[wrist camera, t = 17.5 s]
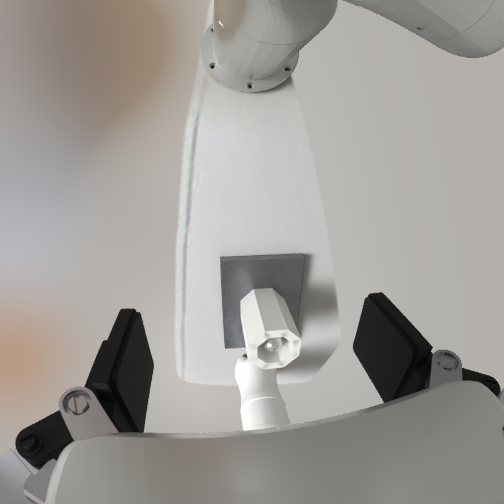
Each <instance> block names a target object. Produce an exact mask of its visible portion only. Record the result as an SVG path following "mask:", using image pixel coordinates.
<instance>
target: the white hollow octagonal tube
mask: <svg viewBox="0 0 504 504" xmlns="http://www.w3.org/2000/svg"><path fill="white" fill-rule="evenodd" d="M240 307H241V322H242V328H243V334H244V339H245V345H246V351H247V356H248V361H250V362H251V363H253V364H255V365H256V366H258V367H260V368H261V369H263V370H264V369H273V368H282V367H285V366H286V365H287V364H289V363H290V362H291V361H293V360H294V359H295V358H297V357H298V356H299V354H300V347H301V341H302V339H301V337H300V335H299V332H298V330H297V328H296V325H295V323H294V321H293V318H292V316H291V314H290V311H289V309H288V307H287V304H286V302H285V300H284V298H283V297H282V296H281V295H280V294H278V293H277V292H276V291H275V290H274V289H273V288H263V289H253V290H252V291H251V292H250V293H249V294H247V295H246V296H245V297H244V298H243V299H242V300H241V301H240ZM276 337H281V340H282V346H281V348H280V349H279V350H278V351H277V352H268V351H267V350H266V349H265V348H264V345H263V342H264V341H266V340H267V339H268V338H276Z"/></svg>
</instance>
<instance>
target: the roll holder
mask: <svg viewBox="0 0 504 504" xmlns="http://www.w3.org/2000/svg"><path fill="white" fill-rule="evenodd" d="M220 266H221V289H222V308H223V326H224V342H225V349H226V348H242V347H246V345H245V339H244V334H243V328H242V322H241V307H240V301H241V300H242V299H243V298H244V297H245V296H246V295H247V294H249V293H250V292H251V291H252V290H253V289H263V288H273V289H274V290H275V291H276V292H277V293H278V294H280V295H281V296H282V297H283V298H284V300H285V302H286V304H287V307H288V309H289V311H290V314H291V316H292V318H293V321H294V323H295V325H296V328H297V324H298V316H299V307H300V298H301V289H302V279H303V269H304V256H303V255H302V254H281V255H258V256H235V257H220ZM263 345H264V348H265V349H266V350H267V351H268V352H277V351H278V350H279V349H280V348H281V346H282V340H281V337H276V338H268V339H267V340H266V341H264V342H263Z"/></svg>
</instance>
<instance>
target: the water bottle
mask: <svg viewBox="0 0 504 504" xmlns="http://www.w3.org/2000/svg"><path fill="white" fill-rule="evenodd" d="M235 377H236V381H237V383H238V386H239V389H240V393H241V400H242V401H241V411H240V412H241V417H242V424H243V431H245V430H255V429H264V428H272V427H280V426H286V425H291V424H290V421H289V418H288V414H287V410H286V407H285V403H284V401H283V399H282V397H281V395H280V392H279V389H278V385H277V380H276V368H273V369H264V370H263V369H261V368H260V367H258V366H256V365H255V364H253V363H251V362H250V361H248V357H247V359H246V358H245V357H244V356H241V357H240V358H239V359H238V361H237V363H236V366H235Z"/></svg>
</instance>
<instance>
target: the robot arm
mask: <svg viewBox="0 0 504 504" xmlns="http://www.w3.org/2000/svg"><path fill="white" fill-rule="evenodd" d="M343 1H346V2H349V3H351V4H354V5H356V6H361V7H363V8H365V9H368V10H370V11H372V12H374V13H377V14H379V15H381V16H383V17H385V18H387V19H389V20H391V21H393V22H395V23H397V24H399V25H400V26H402V27H404V28H406V29H408V30H409V31H411V32H413V33H415V34H416V35H419V36H420V37H422V38H424V39H425V40H427V41H429V42H431V43H432V44H434V45H436V46H437V47H439V48H441V49H443V50H445V51H447V52H449V53H452V54H455V55H458V56H462V57H467V58H478V57H484V56H488V55H491V54H493V53H495V52H497V51H499V50H500V49H502V48H503V47H504V0H343ZM337 2H338V0H214V19H213V23H212V24H211V25H210V26H209V28H208V29H207V31H206V32H205V34H204V37H203V39H202V44H201V56H202V61H203V63H204V66H205V68H206V70H207V71H208V72H209V74H210V75H211V76H212V77H213V78H214V79H215V80H216V81H217V82H219V83H221V84H222V85H224V86H225V87H228V88H230V89H233V90H237V91H241V92H262V91H265V90H269V89H272V88H274V87H276V86H278V85H279V84H281V83H282V82H284V81H285V80H286V79H287V78H288V77H289V76H290V75H291V74H292V72H293V71H294V69H295V67H296V64H297V61H298V57H299V50H300V49H302V48H303V47H304V46H305V45H306V44H307V43H308V42H309V41H310V40H311V39H313V37H315V36H316V35H317V34H318V33H319V32H320V31H321V30H322V29H324V28H325V27H326V26H327V24H328V23H329V22H330V21H331V19H332V18H333V16H334V14H335V12H336V8H337ZM212 31H213V32H212ZM211 66H214V69H211V68H210V67H211ZM285 69H288V71H285ZM248 85H251V86H252V88H248ZM432 348H433V347H432V346H431V345H430V343H429V342H428V341H427V340H426V339H425V338H424V337H423V336H422V334H421V333H420V332H419V331H418V330H417V329H416V328H415V327H414V326H413V325H412V323H411V322H410V321H409V320H408V319H407V318H406V317H405V316H404V315H403V314H402V313H401V312H400V311H399V309H397V307H396V306H395V305H394V304H393V303H392V302H391V301H390V300H389V299H388V298H387V297H386V296H385V295H384V294H383V293H382V292H380V293H371V294H369V295H368V297H367V298H365V301H364V305H363V309H362V313H361V317H360V321H359V325H358V328H357V332H356V336H355V339H354V343H353V350H354V352H355V354H356V356H357V358H358V359H359V361H360V362H361V364H362V366H363V368H364V369H365V371H366V373H367V374H368V376H369V378H370V379H371V381H372V383H373V384H374V386H375V388H376V390H377V391H378V393H379V395H380V396H381V398H382V400H383V402H384V403H383V404H379V405H376V406H373V407H369V408H366V409H362V410H358V411H354V412H351V413H347V414H343V415H338V416H335V417H329V418H325V419H320V420H315V421H310V422H304V423H299V424H293V425H286V426H280V427H272V428H264V429H255V430H245V431H235V432H234V431H233V432H218V433H217V432H216V433H143V432H144V426H145V419H146V411H147V405H148V399H149V393H150V386H151V381H152V374H153V369H154V363H153V359H152V355H151V352H150V348H149V345H148V341H147V337H146V333H145V329H144V325H143V321H142V317H141V314H140V312H136V310H135V309H121V310H120V312H119V314H118V316H117V319H116V321H115V323H114V326H113V328H112V330H111V333H110V335H109V337H108V340H105V341H103V342H102V344H101V347H100V349H99V351H98V354H97V356H96V359H95V361H94V364H93V366H92V369H91V372H90V374H89V376H88V379H87V382H86V384H85V387H74V388H70V389H69V390H67V391H66V392H64V393H63V394H62V396H61V398H60V400H59V409H60V410H59V411H57V412H55V413H53V414H51V415H49V416H48V417H46V418H44V419H42V420H40V421H38V422H36V423H35V424H32V425H31V426H28V427H26V428H25V429H23V430H22V431H20V433H19V434H18V436H17V438H16V449H15V450H14V451H12V449H10V450H9V451H7V453H5V454H4V456H2V457H1V458H0V504H504V389H502V391H500V386H499V384H498V382H497V381H496V379H495V378H493V377H491V376H489V375H485V374H481V373H478V372H475V371H471V370H468V369H464V368H462V363H461V360H460V358H459V357H458V356H457V355H456V354H455V353H453V352H451V351H448V350H438V351H436V352H435V353H434V354H433V353H432V352H431V350H432Z"/></svg>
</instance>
